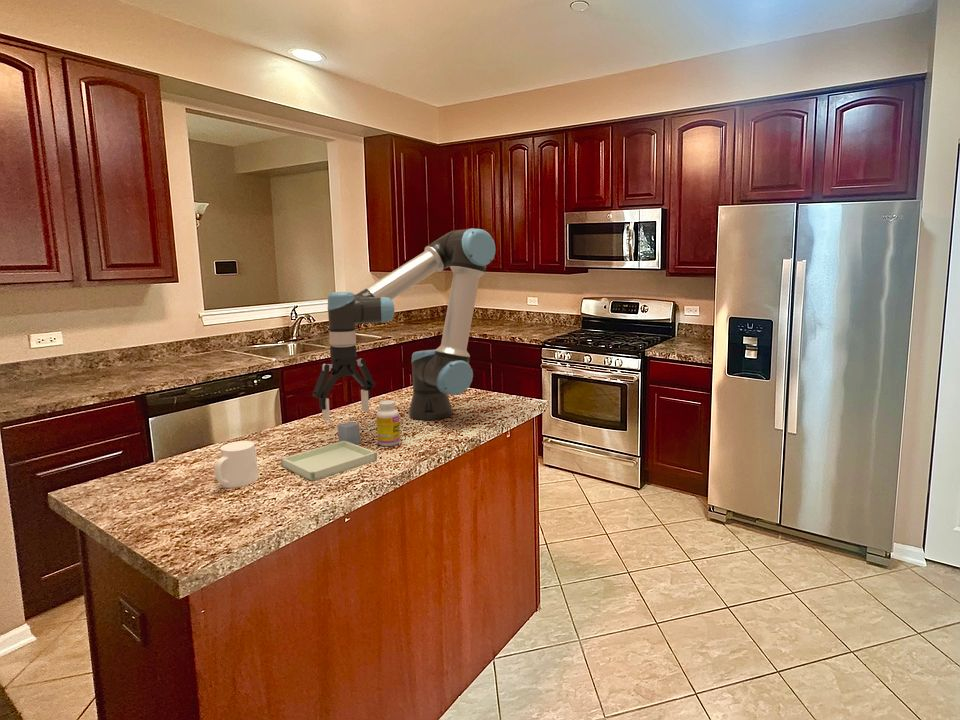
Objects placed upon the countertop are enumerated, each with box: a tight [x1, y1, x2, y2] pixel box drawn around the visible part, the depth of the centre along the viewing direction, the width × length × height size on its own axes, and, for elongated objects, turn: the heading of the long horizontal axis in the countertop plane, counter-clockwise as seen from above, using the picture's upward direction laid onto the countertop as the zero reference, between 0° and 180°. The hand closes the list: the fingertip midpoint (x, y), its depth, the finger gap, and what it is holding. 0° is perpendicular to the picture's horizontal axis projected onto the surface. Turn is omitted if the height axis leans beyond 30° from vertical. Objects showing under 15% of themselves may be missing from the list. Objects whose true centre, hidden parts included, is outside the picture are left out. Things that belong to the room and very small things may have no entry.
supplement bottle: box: [375, 399, 401, 447], centre depth 172 cm, size 7×7×13 cm
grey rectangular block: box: [337, 421, 361, 445], centre depth 173 cm, size 4×4×6 cm
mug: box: [213, 440, 260, 489], centre depth 145 cm, size 12×9×8 cm
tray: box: [280, 440, 378, 482], centre depth 157 cm, size 20×16×2 cm
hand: (346, 415), depth 172 cm, fingers open, 13 cm apart
